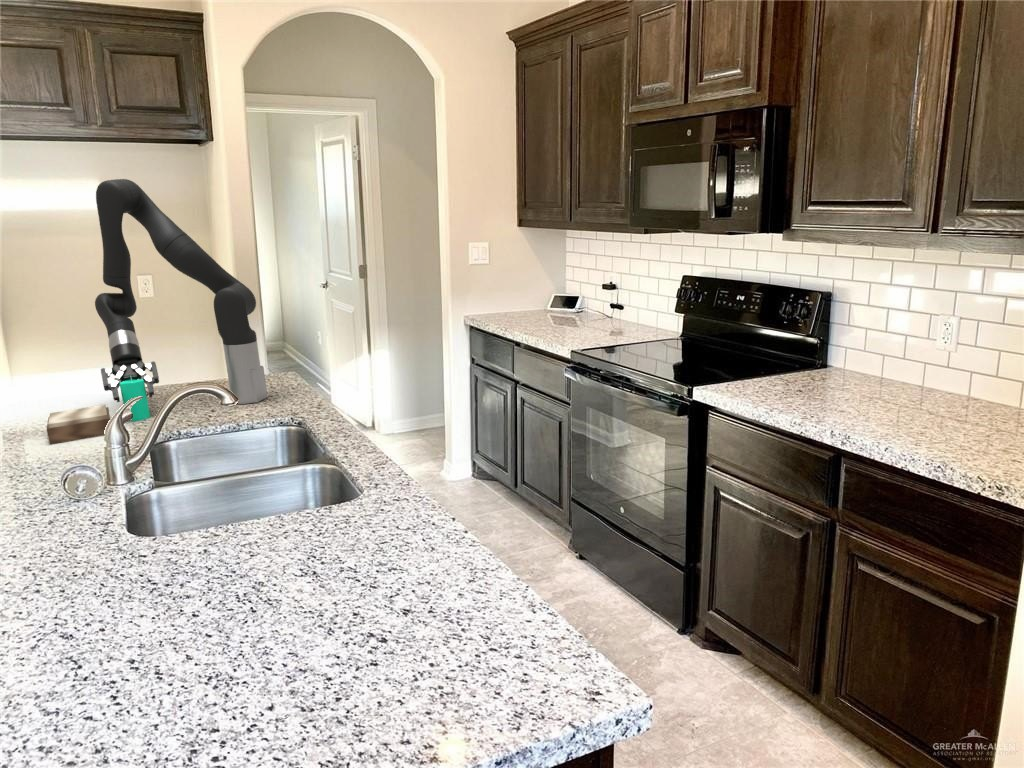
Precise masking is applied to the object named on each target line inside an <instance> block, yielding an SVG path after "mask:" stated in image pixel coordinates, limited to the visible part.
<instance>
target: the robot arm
mask: <svg viewBox="0 0 1024 768" xmlns="http://www.w3.org/2000/svg"><path fill="white" fill-rule="evenodd" d="M95 202H96V208H97V214H98V220H99V221H98V222H99V227H100V233H101V241H102V281H103V283H104V285H106V286H109V287H113V288H117V289H119V290H121V291H122V292H102V293H99V294H98V295H97V296H96V297H95V301H94V306H95V310H96V312H97V314H98V316H99V318H100V320H101V321H102V322H103V325H104V326H105V328H106V331H107V332H106V333H107V337H108V347H109V353H110V359H111V364H112V368H111V369H109V368H108V369H107V368H104V367H102V368H100V374H101V379H102V386H103V390H104V391H105V392H108V391H110V392H112V398H113V400H114V401H116V403H120V402H121V399H120V395H119V390H118V389H120V383H121V382H123V381H126V380H130V379H131V378H132V379H134V380H139V379H143V380H144V383H145V385H146V386H147V387H146V388H147V392H148V396H149V398H152V397H153V396H154V395H155V389H154V385H155V384H159V383H160V377H159V372H158V367H157V364H156V361H153V360H152V361H151V362H150V363H144V361H143V356H142V352H141V347H140V342H139V340H138V337H137V333H136V329H135V328H136V327H135V325H134V324H135V323H134V322H133V319H131V317H133V316H134V315H135V314H136V312H137V302H136V298H135V295H134V292H133V288H132V282H131V277H132V275H131V268H132V259H131V254H130V250H129V248H128V245H127V242H126V241H125V240H126V239H125V238H124V233H123V218H124V214H128V215H130V216H131V217H133V218H134V219H135V220H136V221H137V222H138V223H139V224H140V225H142V226H143V228H144V229H145V230H146V231H147V233H148V235H149V238H150V239H151V242H152V244H153V246H154V248H155V250H156V252H157V253H159V255H160V256H161V257H162V258H163V259H164V260H165V261H166V262H168V263H169V264H170V266H172V267H173V268H174V269H176V270H177V271H178V272H180V273H182V274H183V275H185V276H187V277H189V278H191V279H193V280H195V281H197V282H198V283H200V284H202V285H204V286H205V287H206V288H207V289H209V290H210V291H211V292H212V293H213V294H215V296H214V298H213V310H214V317H215V321H216V326H217V331H218V334H219V337H221V340H222V344H223V345H222V346H223V347H222V348H223V351H224V360H225V365H226V372H227V379H228V380H227V381H228V387H229V391H230V390H231V391H232V392H233V393H234V394H235V395H236V396H237V397H238V399H239V401H238V404H237V405H245V404H253V403H260V402H261V401H263V400H265V399H266V398H268V388H267V383H266V374H265V367H264V366H263V365H261V360H260V354H259V347H258V338H257V332H256V331H255V330H253V328H251V326H250V322H249V317H248V316H249V315H251V314H252V313H254V311H255V310H256V307H257V300H256V297H255V294H254V293H253V291H251V290H250V288H249V287H248V286H246V285H245V284H243V282H241V281H239V280H238V279H237V278H236V277H234V276H233V275H232V274H231V273H229V272H228V271H226V270H225V269H224V268H223V267H222V266H221V265H220V264H219V263H218V262H217V261H216V260H215V259H214V258H213V257H212V256H211V255H209V253H207V251H205V250H204V249H203V248H202V247H201V246H200V245H199V244H198V243H197V242H196V241H195V240H194V239H193V238H191V236H190V235H188V234H187V233H186V232H185V231H184V230H183V229H182V228H180V227H179V226H178V224H176V223H175V222H174V221H173V220H172V219H171V218H170V217H169V216H167V214H165V212H163V210H161V209H160V207H158V205H157V204H156V203H155V202H154V201H153V200H152V199H151V198H150V197H149V195H148V194H147V193H146V192H145V190H143V189H142V187H141V186H139V185H138V184H137V183H136V182H134V181H132V180H131V179H127V178H120V179H119V178H118V179H117V178H116V179H108V180H104V181H101V182H100V183H99V184H98V185H97V188H96V191H95ZM146 370H148V372H151V373H152V377H150V376H149V375H148V374H147V373H146ZM111 375H113V376H115V377H114V379H113V381H112V383H109V380H108V379H109V378H110V377H111Z"/></svg>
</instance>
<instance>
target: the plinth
mask: <svg viewBox="0 0 1024 768" xmlns="http://www.w3.org/2000/svg"><path fill="white" fill-rule="evenodd" d="M47 418H48V419H47V423H46V433H47V438H48V443H49V445H53V444H60V443H66V442H72V441H78V440H85V439H88V438H89V439H90V438H94V437H100V436H105V435H104V430H105V427H106V425H107V423H108V421H109V420H111V414H110V410H109V407H108V406H106V404H100V405H99V404H98V405H94V406H88V407H87V406H86V407H80V408H76V409H75V408H74V409H67V410H61V411H56V412H55V411H54V412H50V413H49V415H48V417H47Z"/></svg>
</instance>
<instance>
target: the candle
mask: <svg viewBox="0 0 1024 768" xmlns="http://www.w3.org/2000/svg"><path fill="white" fill-rule="evenodd" d="M119 389H120V394H121V398H122V404H125V403H126V402H127V401H128V400H130V399H131V398H134V397H138V396H143V398H142V399H140V400H139V401H137V402H136V403H135V404H134V405H133V406H132V408H131V412H132V413H133V418H132V420H131V421H130V422H138V421H139V422H140V421H143V420H144V421H145V420H146V419H149V418H150V417H151V413H150V406H149V402H148V400H149V399H148V397H147V390H146V384H145V383H144V380H143V379H137V380H134V379H132V378H131V379H130V380H126V381H123V382H121V383H120V386H119Z"/></svg>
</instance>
